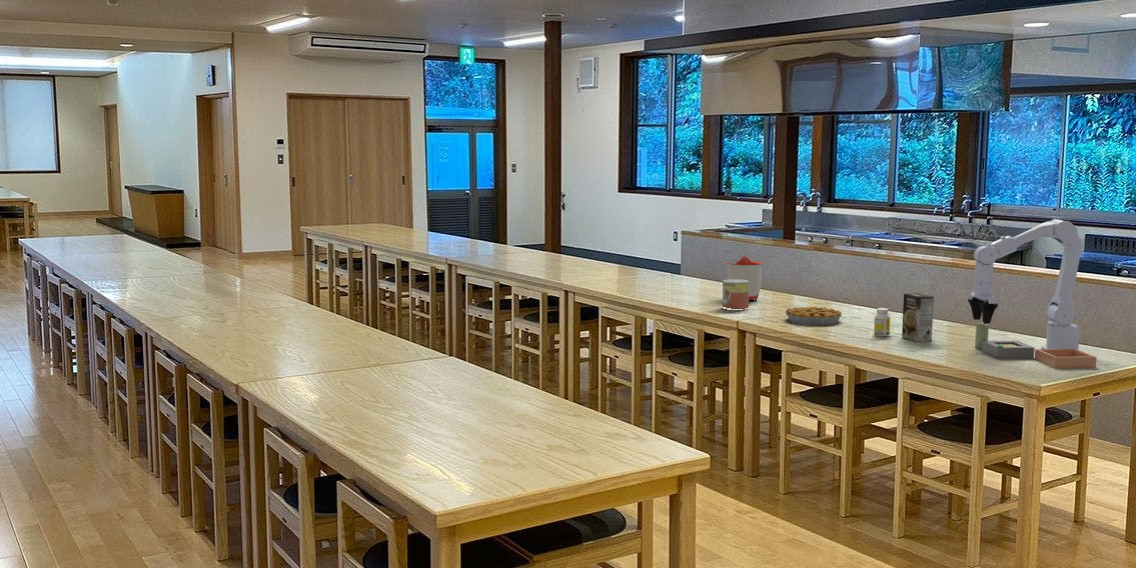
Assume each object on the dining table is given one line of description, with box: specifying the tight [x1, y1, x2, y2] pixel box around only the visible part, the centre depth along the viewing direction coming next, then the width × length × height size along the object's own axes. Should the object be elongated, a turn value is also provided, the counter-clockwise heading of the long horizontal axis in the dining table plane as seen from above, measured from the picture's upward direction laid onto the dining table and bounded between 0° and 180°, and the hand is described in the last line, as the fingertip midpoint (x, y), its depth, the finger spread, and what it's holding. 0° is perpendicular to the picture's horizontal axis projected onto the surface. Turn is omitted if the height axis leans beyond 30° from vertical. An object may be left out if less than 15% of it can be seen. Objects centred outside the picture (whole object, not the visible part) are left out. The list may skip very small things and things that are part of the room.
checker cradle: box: [981, 340, 1036, 359], centre depth 335 cm, size 12×12×4 cm
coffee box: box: [901, 292, 935, 343], centre depth 361 cm, size 9×6×16 cm
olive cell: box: [974, 322, 990, 350], centre depth 345 cm, size 4×4×9 cm
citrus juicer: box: [725, 255, 763, 301], centre depth 455 cm, size 16×17×20 cm
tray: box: [1034, 348, 1098, 369], centre depth 321 cm, size 13×13×3 cm
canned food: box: [721, 278, 750, 309], centre depth 431 cm, size 11×11×12 cm
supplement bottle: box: [873, 307, 891, 337], centre depth 369 cm, size 5×5×10 cm
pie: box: [785, 306, 843, 326], centre depth 400 cm, size 22×22×5 cm
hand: (981, 321), depth 343 cm, fingers open, 7 cm apart
